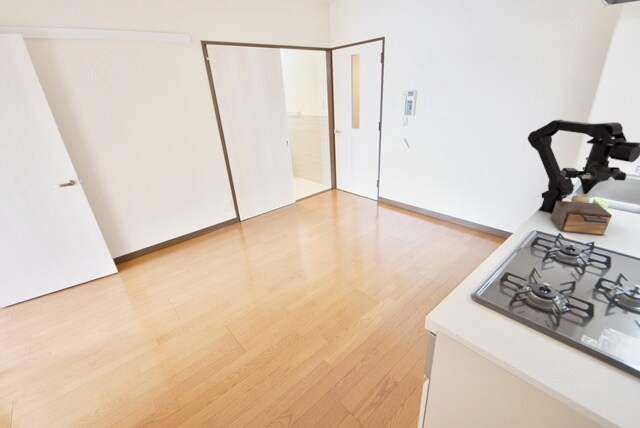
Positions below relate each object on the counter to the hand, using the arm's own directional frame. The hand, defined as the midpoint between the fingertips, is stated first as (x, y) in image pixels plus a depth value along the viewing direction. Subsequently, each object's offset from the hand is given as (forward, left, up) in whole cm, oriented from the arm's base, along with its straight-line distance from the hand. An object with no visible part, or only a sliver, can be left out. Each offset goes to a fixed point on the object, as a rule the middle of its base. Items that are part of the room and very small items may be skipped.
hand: (584, 193), depth 115 cm
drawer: (+4, -11, -11) cm, 16 cm away
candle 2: (+5, +9, -12) cm, 16 cm away
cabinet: (+1, -7, -12) cm, 14 cm away
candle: (-1, +4, -12) cm, 13 cm away
